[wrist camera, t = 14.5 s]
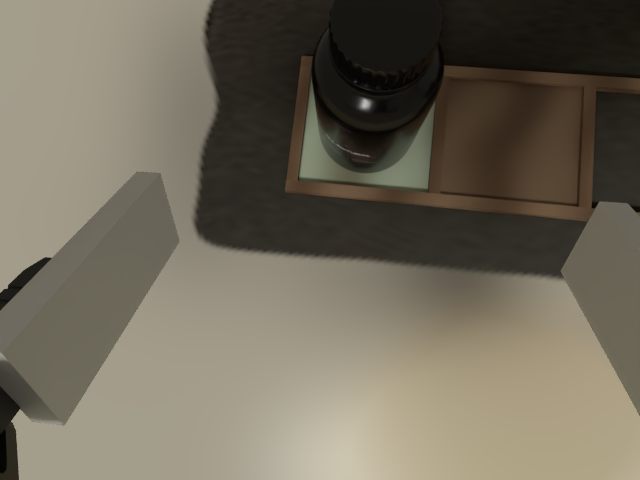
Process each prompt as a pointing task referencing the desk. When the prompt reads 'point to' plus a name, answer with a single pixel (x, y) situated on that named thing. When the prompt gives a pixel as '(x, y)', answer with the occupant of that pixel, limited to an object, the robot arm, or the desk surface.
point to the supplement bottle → (376, 79)
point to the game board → (475, 146)
